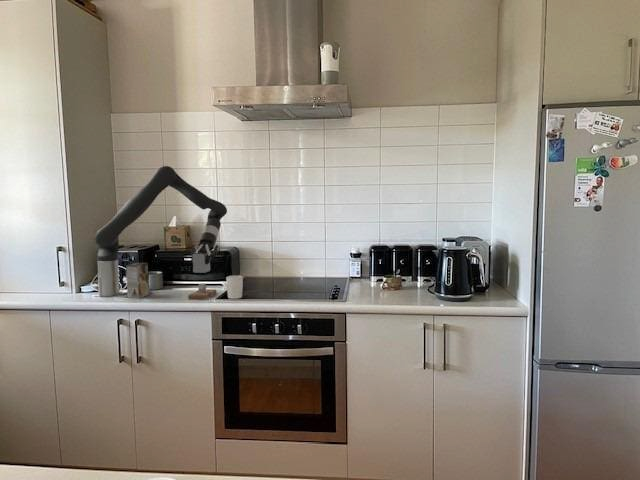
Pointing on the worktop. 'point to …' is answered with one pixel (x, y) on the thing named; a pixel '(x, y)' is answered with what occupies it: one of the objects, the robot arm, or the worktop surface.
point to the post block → (202, 293)
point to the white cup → (234, 286)
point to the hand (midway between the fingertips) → (200, 263)
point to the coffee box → (137, 280)
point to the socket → (200, 262)
